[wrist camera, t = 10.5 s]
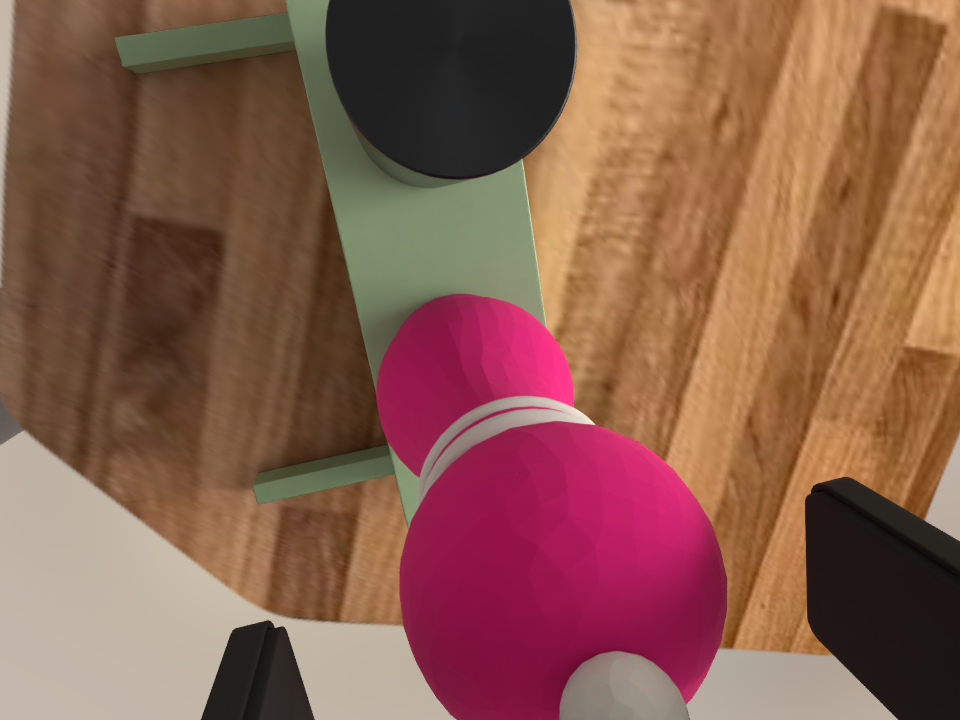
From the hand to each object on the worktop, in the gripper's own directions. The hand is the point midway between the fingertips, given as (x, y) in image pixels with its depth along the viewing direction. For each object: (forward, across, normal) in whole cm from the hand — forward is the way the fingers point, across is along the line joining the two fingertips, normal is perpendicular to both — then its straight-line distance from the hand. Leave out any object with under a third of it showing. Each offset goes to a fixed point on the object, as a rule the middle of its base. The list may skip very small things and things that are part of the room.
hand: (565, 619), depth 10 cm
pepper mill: (+17, 0, 0) cm, 17 cm away
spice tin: (+17, -1, -10) cm, 20 cm away
